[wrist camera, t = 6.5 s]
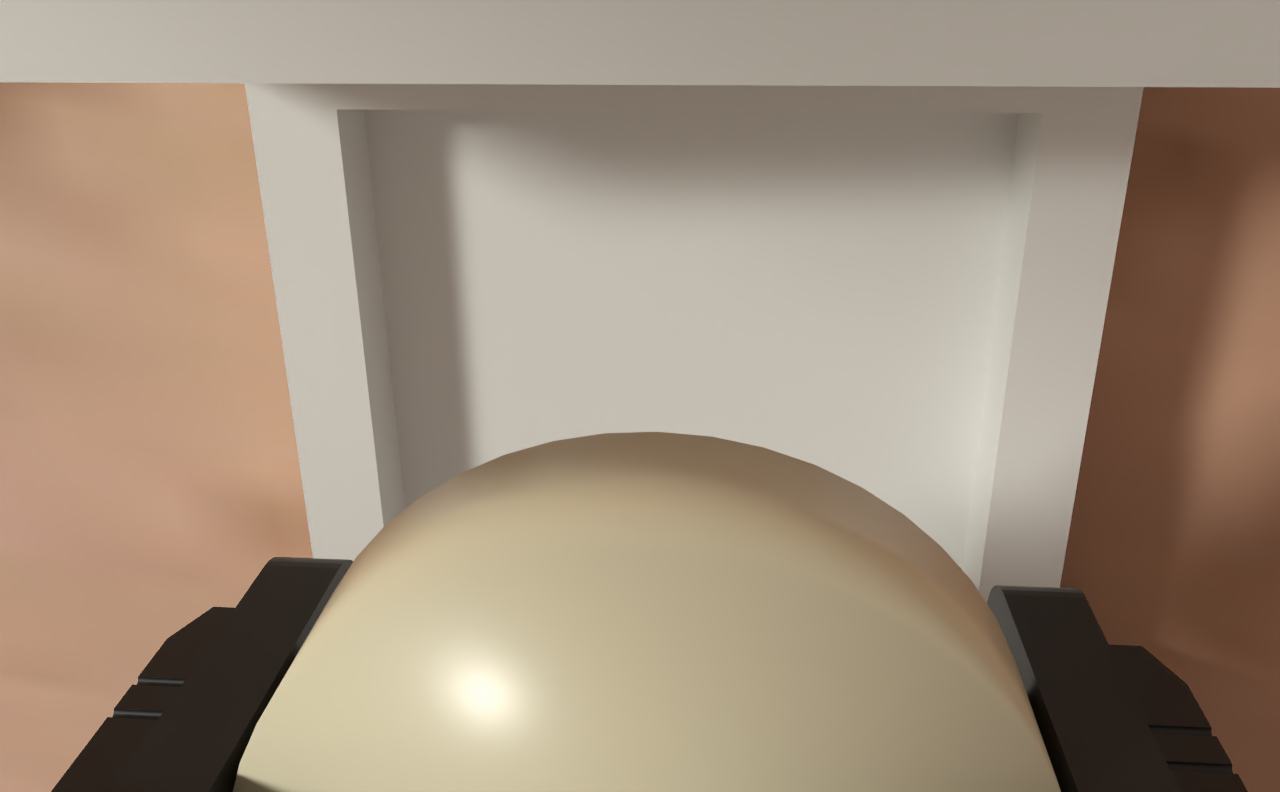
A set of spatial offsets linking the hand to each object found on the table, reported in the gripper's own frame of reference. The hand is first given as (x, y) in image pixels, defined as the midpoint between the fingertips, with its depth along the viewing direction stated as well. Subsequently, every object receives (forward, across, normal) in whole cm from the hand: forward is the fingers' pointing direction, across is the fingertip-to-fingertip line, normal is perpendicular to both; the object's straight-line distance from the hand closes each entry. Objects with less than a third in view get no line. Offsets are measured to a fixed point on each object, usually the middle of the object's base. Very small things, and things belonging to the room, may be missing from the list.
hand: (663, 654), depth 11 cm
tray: (+8, 0, +1) cm, 8 cm away
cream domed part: (-1, 0, 0) cm, 1 cm away
